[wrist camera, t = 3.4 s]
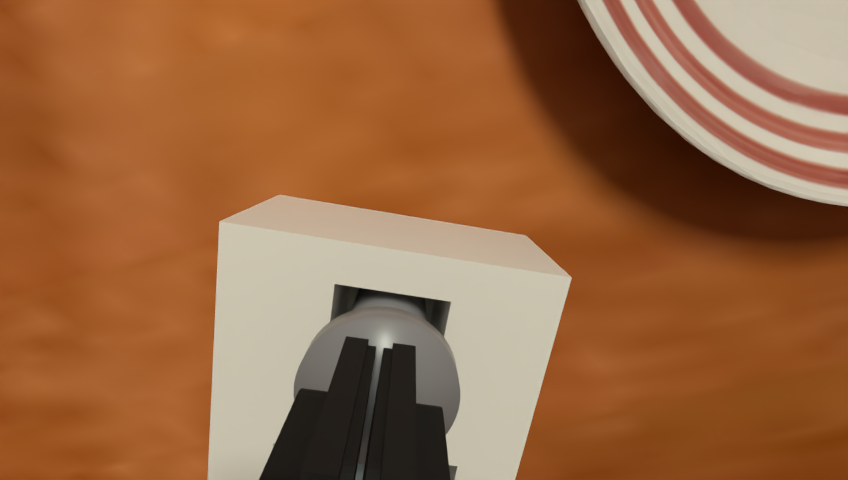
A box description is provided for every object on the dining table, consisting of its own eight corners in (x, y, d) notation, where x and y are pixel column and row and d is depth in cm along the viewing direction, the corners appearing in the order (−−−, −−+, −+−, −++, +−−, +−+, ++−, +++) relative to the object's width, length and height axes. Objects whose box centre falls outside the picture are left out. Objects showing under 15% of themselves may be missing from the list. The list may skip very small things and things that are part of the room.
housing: (279, 194, 16) (219, 221, 11) (525, 235, 16) (571, 277, 12) (247, 574, 21) (197, 708, 16) (438, 594, 21) (445, 729, 17)
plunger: (452, 257, 15) (475, 334, 9) (433, 351, 16) (443, 474, 10) (345, 240, 15) (301, 308, 9) (333, 337, 16) (286, 455, 10)
